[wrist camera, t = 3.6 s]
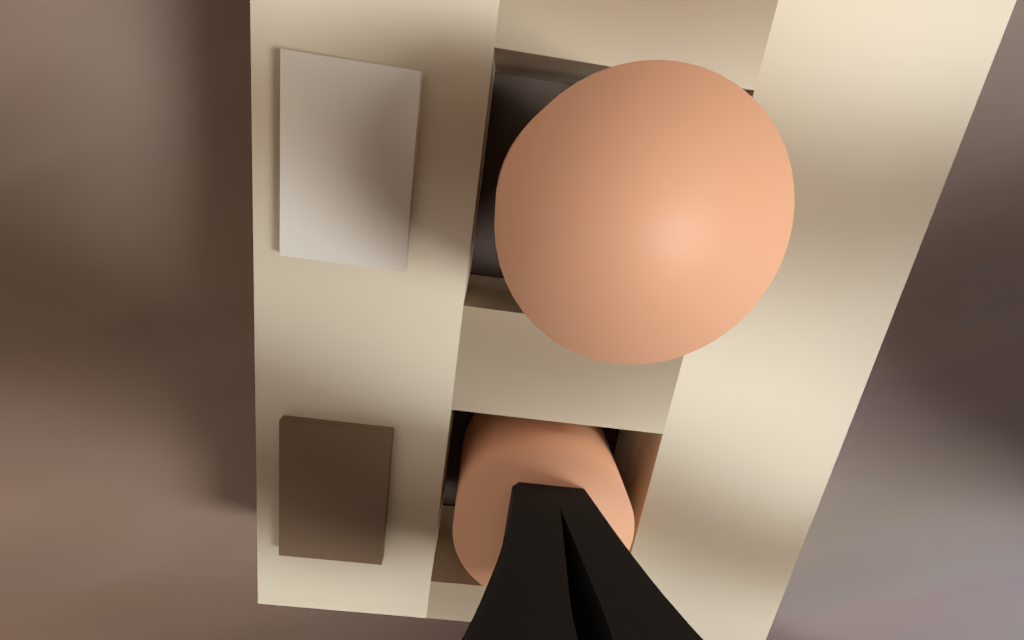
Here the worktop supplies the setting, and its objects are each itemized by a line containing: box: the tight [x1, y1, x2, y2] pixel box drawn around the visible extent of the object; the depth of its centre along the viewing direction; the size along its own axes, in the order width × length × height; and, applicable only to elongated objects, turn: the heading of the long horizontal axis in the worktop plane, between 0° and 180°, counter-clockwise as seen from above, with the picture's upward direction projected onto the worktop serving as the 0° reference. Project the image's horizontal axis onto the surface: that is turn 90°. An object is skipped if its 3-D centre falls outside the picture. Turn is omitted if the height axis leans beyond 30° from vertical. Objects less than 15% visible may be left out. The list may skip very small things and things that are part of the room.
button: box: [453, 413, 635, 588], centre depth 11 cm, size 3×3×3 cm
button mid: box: [494, 60, 795, 365], centre depth 7 cm, size 3×3×3 cm
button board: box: [250, 0, 1017, 640], centre depth 9 cm, size 18×11×3 cm, turn 172°
